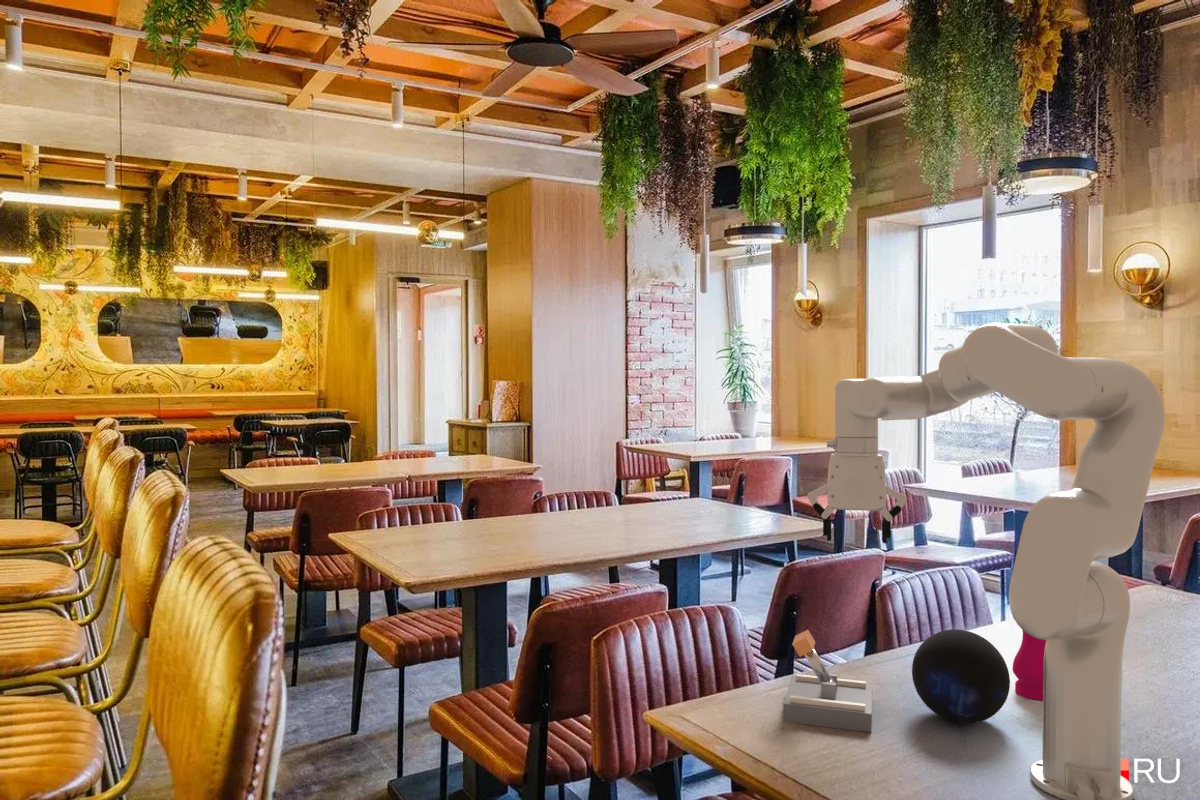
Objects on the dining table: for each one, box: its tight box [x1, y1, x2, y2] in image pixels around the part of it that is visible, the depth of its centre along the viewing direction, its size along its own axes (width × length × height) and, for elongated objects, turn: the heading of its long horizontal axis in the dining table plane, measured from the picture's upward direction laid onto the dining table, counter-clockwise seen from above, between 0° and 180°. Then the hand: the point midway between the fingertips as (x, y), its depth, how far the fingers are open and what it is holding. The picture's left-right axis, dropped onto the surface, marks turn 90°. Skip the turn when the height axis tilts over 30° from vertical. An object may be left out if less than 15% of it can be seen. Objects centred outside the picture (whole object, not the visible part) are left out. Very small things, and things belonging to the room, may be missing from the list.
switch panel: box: [782, 673, 873, 733], centre depth 146 cm, size 14×14×6 cm
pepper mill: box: [1012, 630, 1047, 702], centre depth 153 cm, size 7×7×20 cm
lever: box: [792, 629, 836, 683], centre depth 146 cm, size 5×3×10 cm
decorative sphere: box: [911, 628, 1011, 725], centre depth 142 cm, size 15×15×15 cm
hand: (856, 540), depth 154 cm, fingers open, 9 cm apart
